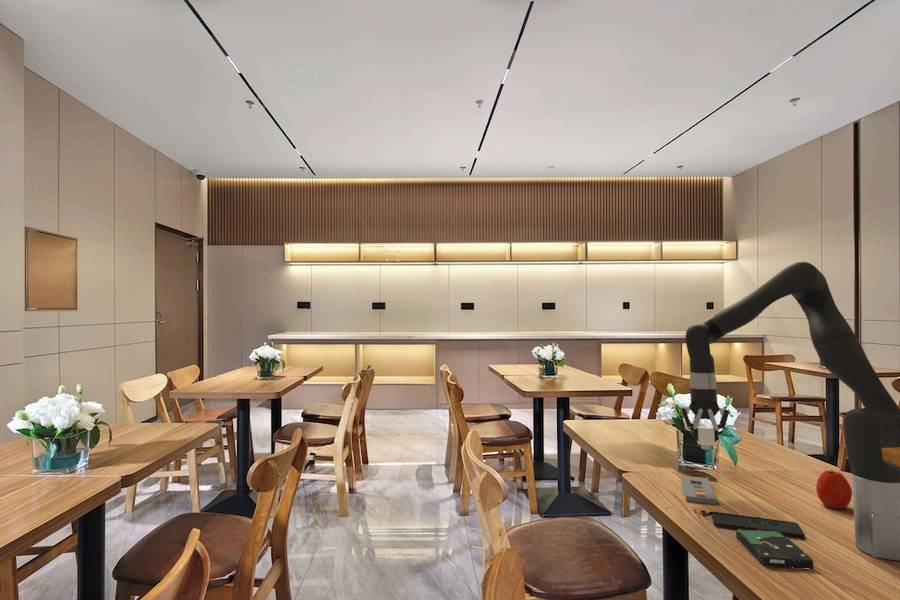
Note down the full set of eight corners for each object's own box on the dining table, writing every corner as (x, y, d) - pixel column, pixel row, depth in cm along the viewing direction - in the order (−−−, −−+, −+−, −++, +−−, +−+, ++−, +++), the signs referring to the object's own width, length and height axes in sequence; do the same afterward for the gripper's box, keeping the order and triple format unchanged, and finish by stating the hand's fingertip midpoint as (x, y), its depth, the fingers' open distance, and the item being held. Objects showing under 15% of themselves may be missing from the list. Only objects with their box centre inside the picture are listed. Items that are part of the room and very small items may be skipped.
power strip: (720, 518, 131) (720, 505, 131) (688, 514, 134) (688, 501, 134) (708, 487, 156) (707, 476, 156) (681, 484, 159) (680, 473, 159)
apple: (849, 504, 140) (847, 467, 140) (856, 514, 132) (854, 475, 133) (815, 499, 144) (813, 463, 144) (819, 508, 137) (817, 471, 137)
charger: (715, 450, 147) (714, 429, 148) (699, 449, 149) (698, 428, 149) (712, 447, 151) (711, 426, 152) (697, 446, 153) (696, 425, 153)
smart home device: (805, 534, 118) (714, 522, 126) (806, 541, 118) (714, 528, 126) (797, 521, 125) (711, 510, 133) (797, 528, 125) (711, 516, 133)
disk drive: (815, 573, 103) (779, 541, 118) (814, 559, 104) (779, 529, 118) (763, 569, 105) (734, 538, 120) (763, 556, 105) (734, 527, 120)
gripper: (679, 387, 150) (682, 442, 149) (730, 388, 145) (734, 445, 144) (677, 384, 157) (679, 437, 156) (726, 385, 152) (729, 440, 151)
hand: (705, 440), depth 150 cm, fingers closed on charger, 4 cm apart
